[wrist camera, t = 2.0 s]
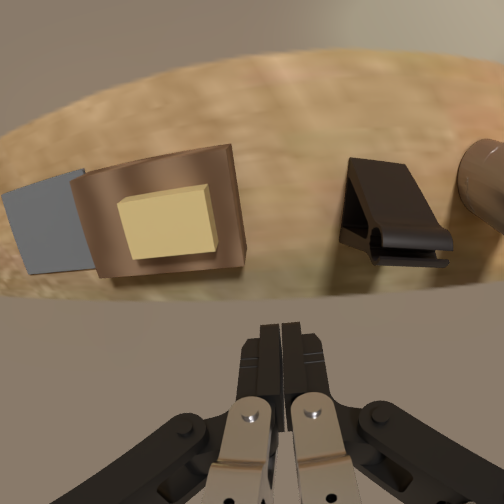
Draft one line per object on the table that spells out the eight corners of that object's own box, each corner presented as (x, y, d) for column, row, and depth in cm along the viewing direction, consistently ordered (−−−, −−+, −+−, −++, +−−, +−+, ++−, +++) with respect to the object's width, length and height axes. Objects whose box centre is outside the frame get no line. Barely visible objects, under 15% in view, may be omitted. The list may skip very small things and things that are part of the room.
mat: (84, 168, 31) (82, 169, 30) (111, 265, 36) (110, 266, 35) (2, 194, 32) (1, 195, 32) (30, 273, 37) (28, 274, 37)
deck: (231, 143, 29) (225, 149, 26) (246, 247, 34) (244, 266, 30) (88, 172, 31) (69, 181, 27) (113, 261, 36) (99, 278, 32)
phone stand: (349, 156, 29) (393, 188, 18) (404, 163, 29) (466, 198, 18) (338, 240, 33) (367, 307, 22) (389, 244, 33) (434, 307, 22)
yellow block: (208, 183, 27) (203, 189, 25) (218, 241, 29) (215, 251, 28) (125, 197, 28) (116, 203, 26) (140, 250, 30) (132, 259, 28)
